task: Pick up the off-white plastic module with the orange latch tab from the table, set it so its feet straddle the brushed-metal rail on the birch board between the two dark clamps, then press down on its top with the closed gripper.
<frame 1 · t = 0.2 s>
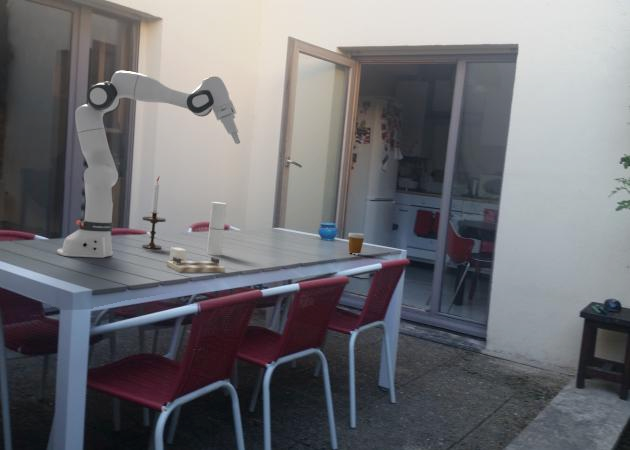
hand: (237, 143, 282), 54 cm above the table, tool tilted 30°, fingers open, 8 cm apart
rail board: (195, 269, 272), on the table
module: (177, 262, 283), on the table
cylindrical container: (214, 254, 318), on the table
candlestick: (151, 248, 316), on the table
glass of beer: (354, 254, 373), on the table
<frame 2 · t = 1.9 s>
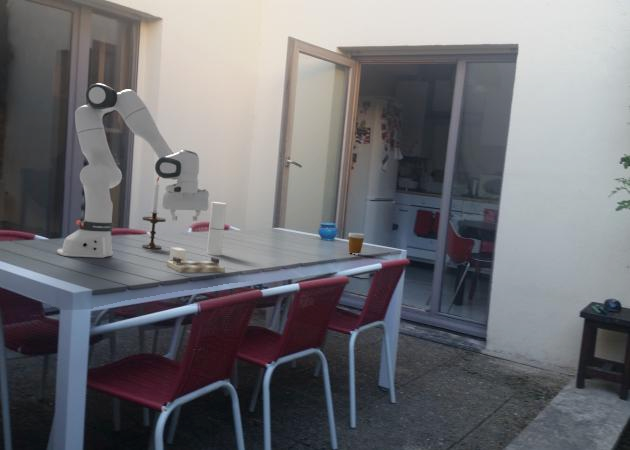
hand: (184, 220, 282), 18 cm above the table, tool pointing down, fingers open, 8 cm apart
nothing on the table moved.
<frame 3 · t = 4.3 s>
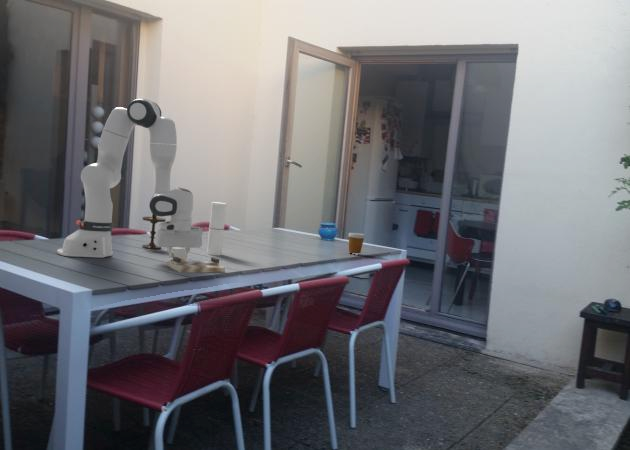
hand: (177, 257, 283), 2 cm above the table, tool pointing down, fingers closed on module, 4 cm apart
module: (177, 262, 283), on the table, touching gripper
everything else where it was.
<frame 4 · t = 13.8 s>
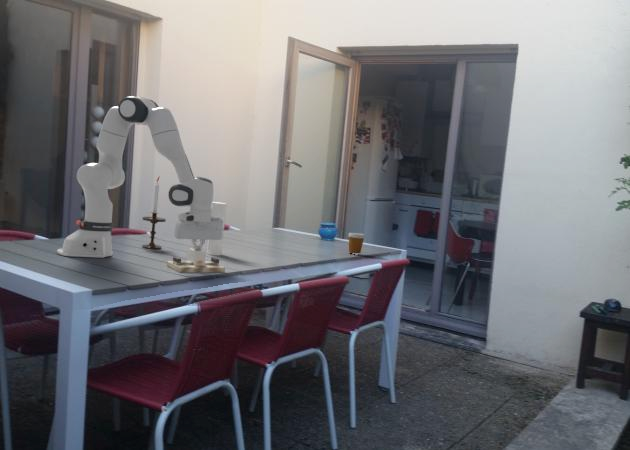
hand: (197, 249, 271), 8 cm above the table, tool pointing down, fingers closed, pressing on module
module: (195, 264, 272), point 2 cm above the table, touching gripper, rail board
everything else where it was.
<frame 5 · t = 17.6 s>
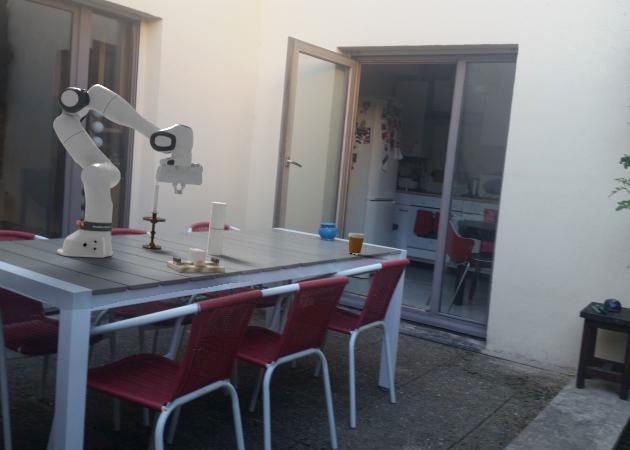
hand: (178, 194, 286), 29 cm above the table, tool pointing down, fingers closed
module: (195, 264, 272), point 2 cm above the table, touching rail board
everything else where it was.
at the end: module 0.1 cm off-centre on the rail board, point 2.1 cm above the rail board's base; module tilted 0°; the gripper is holding nothing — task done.
